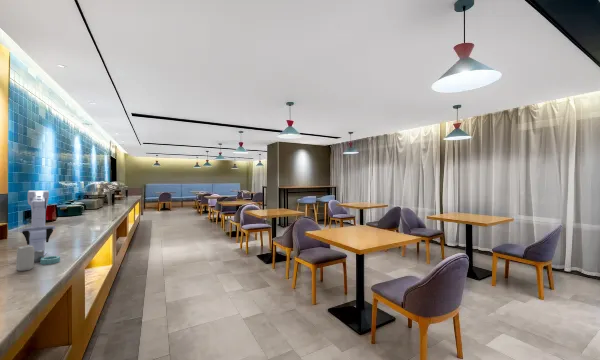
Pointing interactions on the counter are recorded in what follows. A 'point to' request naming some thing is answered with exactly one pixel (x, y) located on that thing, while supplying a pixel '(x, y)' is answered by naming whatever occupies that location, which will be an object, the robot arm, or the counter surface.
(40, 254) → the steel peg
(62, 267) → the counter surface
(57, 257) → the teal bead ring
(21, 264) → the beverage can
